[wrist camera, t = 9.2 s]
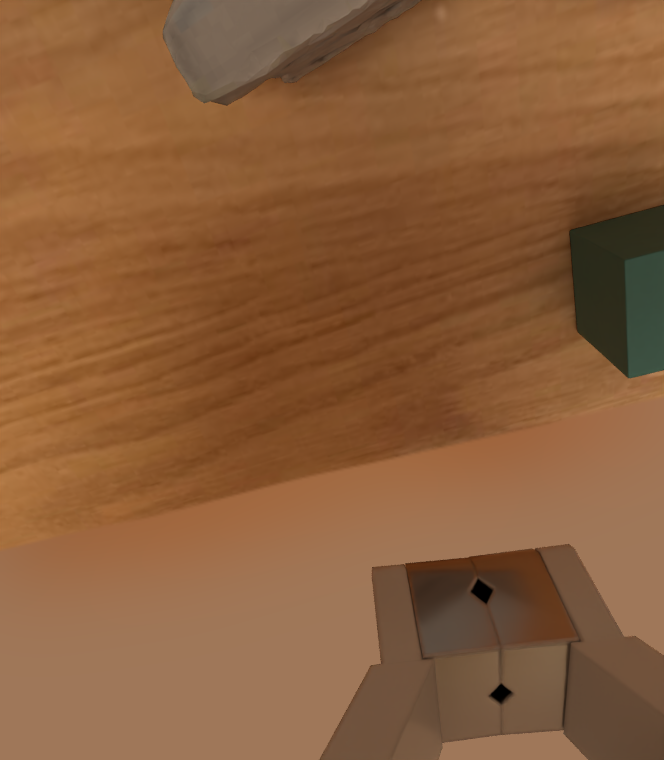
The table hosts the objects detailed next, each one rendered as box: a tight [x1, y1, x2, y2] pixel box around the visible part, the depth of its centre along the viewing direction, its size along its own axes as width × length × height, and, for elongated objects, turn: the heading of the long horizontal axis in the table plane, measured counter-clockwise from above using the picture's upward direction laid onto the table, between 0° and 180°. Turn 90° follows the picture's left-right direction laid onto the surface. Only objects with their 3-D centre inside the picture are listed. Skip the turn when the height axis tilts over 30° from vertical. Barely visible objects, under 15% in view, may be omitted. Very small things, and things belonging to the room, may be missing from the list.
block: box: [570, 205, 664, 378], centre depth 21 cm, size 4×4×4 cm
